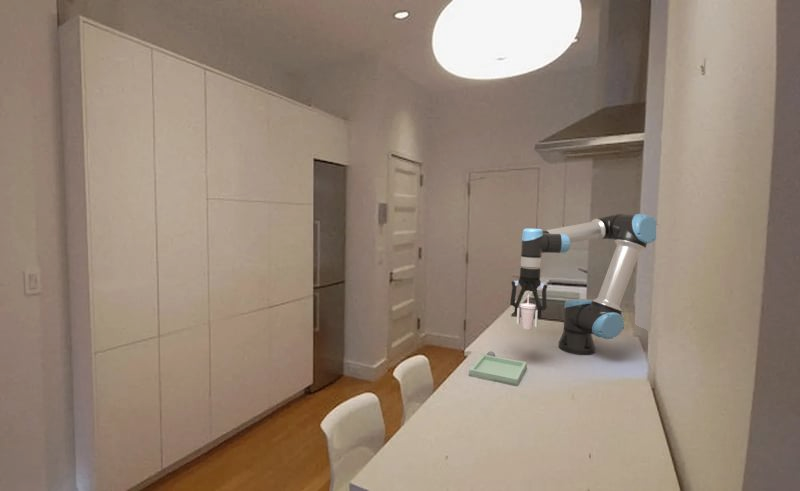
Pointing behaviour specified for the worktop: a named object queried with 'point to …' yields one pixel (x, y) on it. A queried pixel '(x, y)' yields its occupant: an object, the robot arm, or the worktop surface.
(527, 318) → the smoothie
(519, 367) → the tray
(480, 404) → the worktop surface
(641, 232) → the robot arm
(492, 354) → the gray ball
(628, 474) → the worktop surface
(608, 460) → the worktop surface
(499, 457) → the worktop surface
